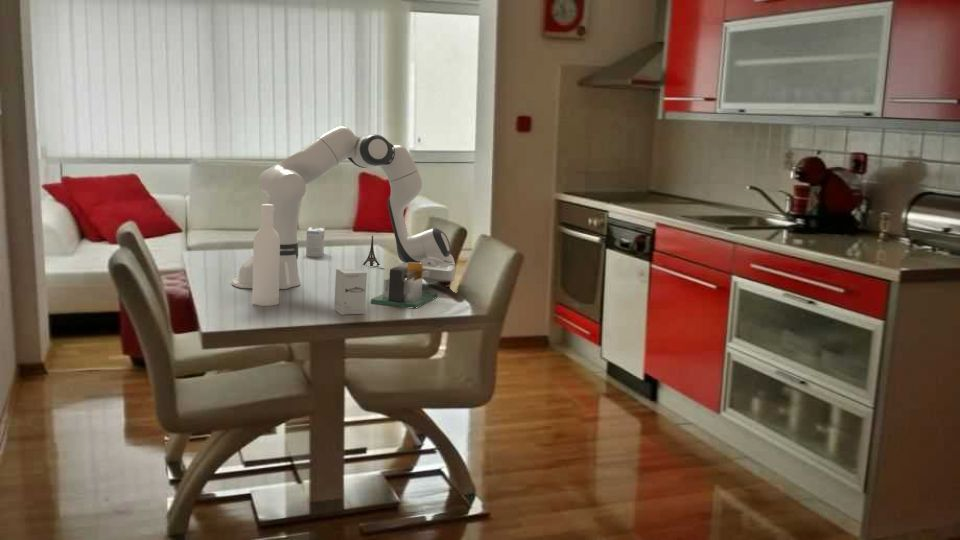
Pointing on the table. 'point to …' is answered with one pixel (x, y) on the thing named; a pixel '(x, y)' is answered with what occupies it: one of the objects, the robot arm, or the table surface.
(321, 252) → the light bulb box
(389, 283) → the heatsink board
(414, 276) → the yellow rectangular block
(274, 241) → the bottle
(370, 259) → the eiffel tower figurine
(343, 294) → the supplement box
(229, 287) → the table surface
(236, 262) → the table surface
